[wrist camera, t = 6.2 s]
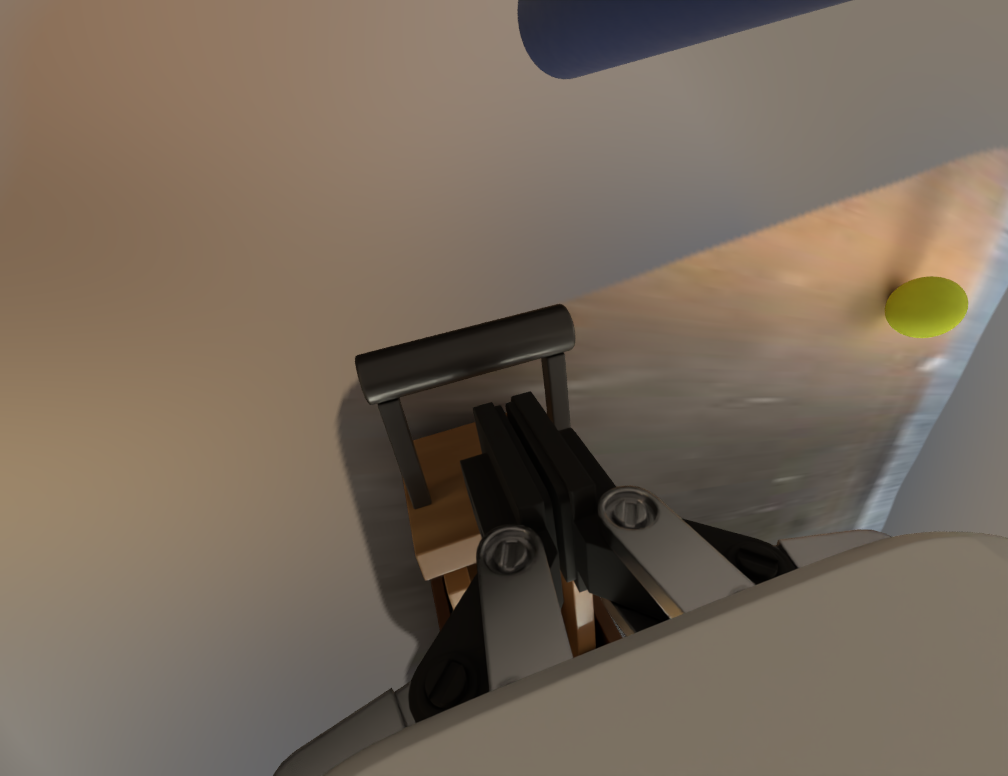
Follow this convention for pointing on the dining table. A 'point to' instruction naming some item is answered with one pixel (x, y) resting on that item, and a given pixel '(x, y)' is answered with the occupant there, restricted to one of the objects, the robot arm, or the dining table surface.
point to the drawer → (467, 438)
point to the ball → (926, 307)
